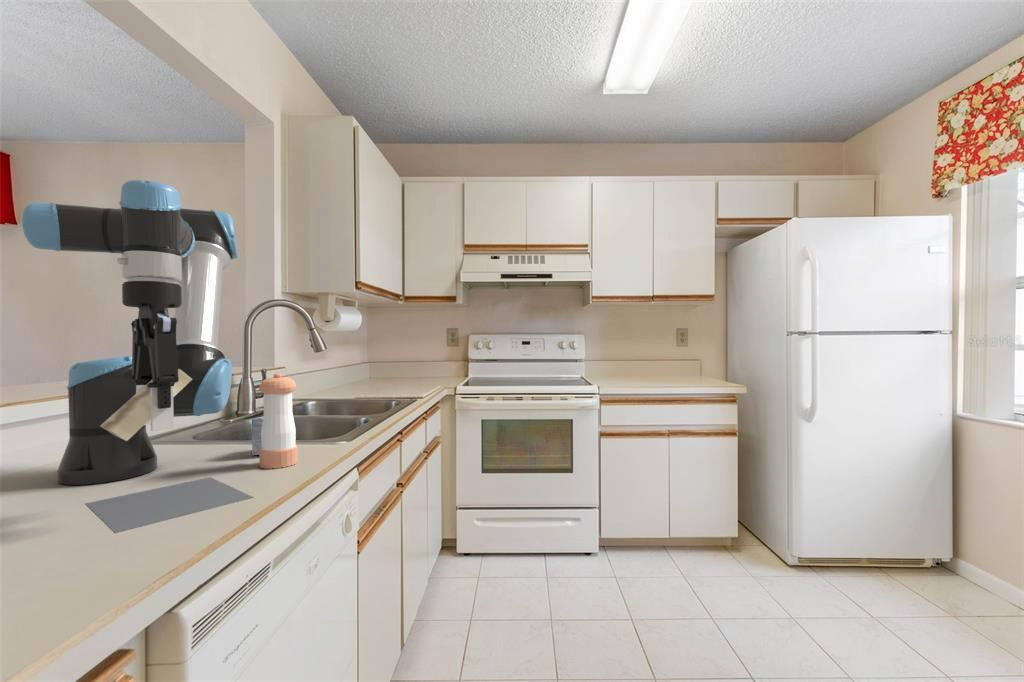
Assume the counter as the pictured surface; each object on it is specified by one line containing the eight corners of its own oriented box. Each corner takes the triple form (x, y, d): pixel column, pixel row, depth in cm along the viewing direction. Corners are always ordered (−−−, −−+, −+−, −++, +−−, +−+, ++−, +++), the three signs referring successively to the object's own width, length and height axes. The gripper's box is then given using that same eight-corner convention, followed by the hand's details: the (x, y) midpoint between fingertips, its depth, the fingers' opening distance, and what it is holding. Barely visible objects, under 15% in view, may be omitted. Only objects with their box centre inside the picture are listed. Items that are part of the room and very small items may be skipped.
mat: (85, 505, 77) (85, 503, 77) (210, 478, 91) (210, 477, 91) (115, 535, 65) (115, 532, 65) (253, 499, 79) (253, 497, 79)
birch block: (99, 425, 73) (165, 367, 80) (114, 435, 75) (177, 377, 81) (111, 430, 69) (179, 368, 75) (126, 441, 70) (192, 379, 77)
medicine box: (268, 457, 107) (268, 418, 107) (251, 456, 108) (250, 418, 108) (291, 448, 115) (291, 413, 115) (275, 448, 116) (274, 412, 116)
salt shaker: (288, 457, 106) (286, 371, 106) (304, 463, 102) (302, 373, 101) (253, 465, 101) (252, 374, 100) (269, 470, 96) (267, 375, 96)
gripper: (106, 285, 79) (108, 424, 79) (141, 273, 67) (144, 438, 66) (161, 289, 85) (163, 418, 85) (202, 278, 72) (205, 429, 72)
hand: (154, 426), depth 76 cm, fingers closed on birch block, 7 cm apart
